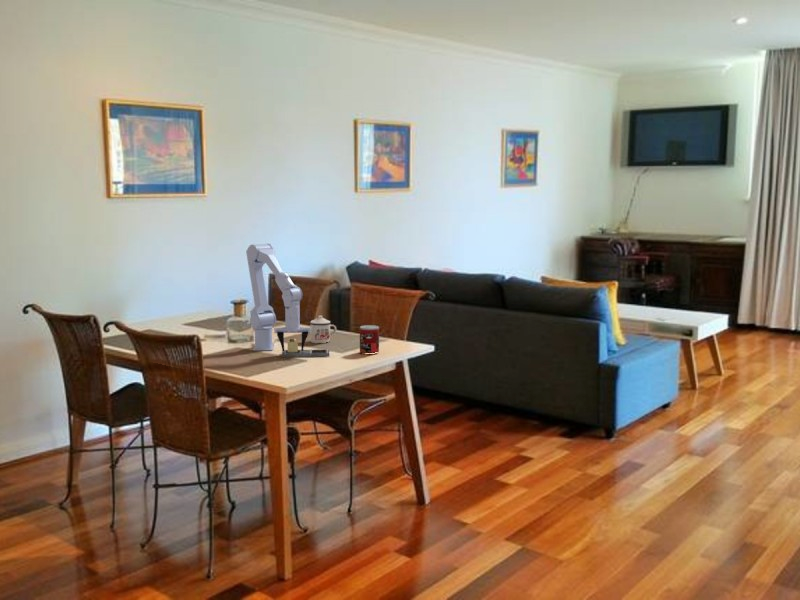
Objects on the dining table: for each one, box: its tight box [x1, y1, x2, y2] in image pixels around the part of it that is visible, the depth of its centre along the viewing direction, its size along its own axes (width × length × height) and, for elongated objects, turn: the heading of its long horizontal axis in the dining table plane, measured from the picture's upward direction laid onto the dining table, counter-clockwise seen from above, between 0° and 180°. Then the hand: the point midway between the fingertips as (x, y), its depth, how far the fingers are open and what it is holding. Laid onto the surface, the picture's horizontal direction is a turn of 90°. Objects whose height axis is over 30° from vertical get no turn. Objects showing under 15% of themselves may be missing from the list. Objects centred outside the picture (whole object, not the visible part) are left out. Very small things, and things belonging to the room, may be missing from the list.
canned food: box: [359, 324, 380, 354], centre depth 324 cm, size 8×8×11 cm
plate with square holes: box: [281, 348, 330, 358], centre depth 319 cm, size 7×19×2 cm, turn 95°
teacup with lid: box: [309, 315, 337, 344], centre depth 347 cm, size 12×9×12 cm
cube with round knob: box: [287, 337, 299, 353], centre depth 318 cm, size 4×4×7 cm
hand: (292, 350), depth 319 cm, fingers open, 7 cm apart
